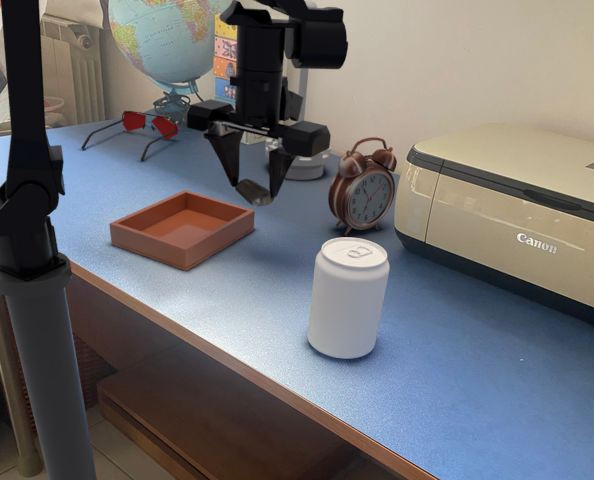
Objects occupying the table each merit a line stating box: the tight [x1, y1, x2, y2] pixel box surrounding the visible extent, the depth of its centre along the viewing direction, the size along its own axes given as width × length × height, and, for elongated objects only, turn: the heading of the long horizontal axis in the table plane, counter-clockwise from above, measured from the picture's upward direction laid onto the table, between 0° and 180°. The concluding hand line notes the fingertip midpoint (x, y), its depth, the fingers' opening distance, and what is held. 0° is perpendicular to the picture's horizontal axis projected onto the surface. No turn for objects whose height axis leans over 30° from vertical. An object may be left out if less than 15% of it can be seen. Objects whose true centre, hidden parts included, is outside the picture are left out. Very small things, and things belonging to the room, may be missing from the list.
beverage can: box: [306, 236, 390, 360], centre depth 66 cm, size 8×8×12 cm
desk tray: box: [108, 189, 256, 272], centre depth 89 cm, size 18×14×3 cm
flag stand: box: [264, 0, 332, 181], centre depth 111 cm, size 13×13×30 cm
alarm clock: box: [327, 136, 398, 236], centre depth 93 cm, size 11×5×15 cm, turn 123°
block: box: [234, 178, 275, 207], centre depth 80 cm, size 4×6×2 cm, turn 38°
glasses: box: [81, 110, 180, 162], centre depth 122 cm, size 14×16×5 cm
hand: (254, 191), depth 80 cm, fingers closed on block, 6 cm apart
